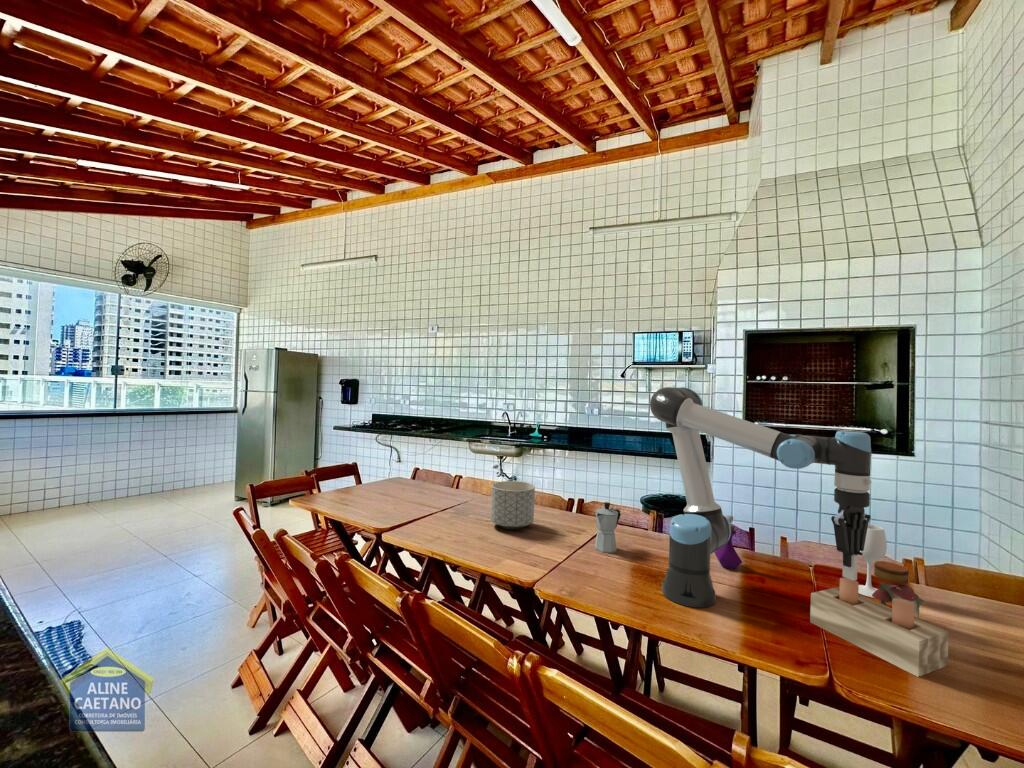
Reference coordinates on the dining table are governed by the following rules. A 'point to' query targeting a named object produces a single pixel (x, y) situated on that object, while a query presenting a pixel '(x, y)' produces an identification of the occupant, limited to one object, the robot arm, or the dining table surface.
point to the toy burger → (890, 591)
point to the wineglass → (872, 555)
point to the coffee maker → (606, 528)
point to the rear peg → (849, 591)
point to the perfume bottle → (728, 551)
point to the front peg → (903, 613)
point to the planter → (512, 504)
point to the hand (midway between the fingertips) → (849, 577)
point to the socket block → (881, 632)
